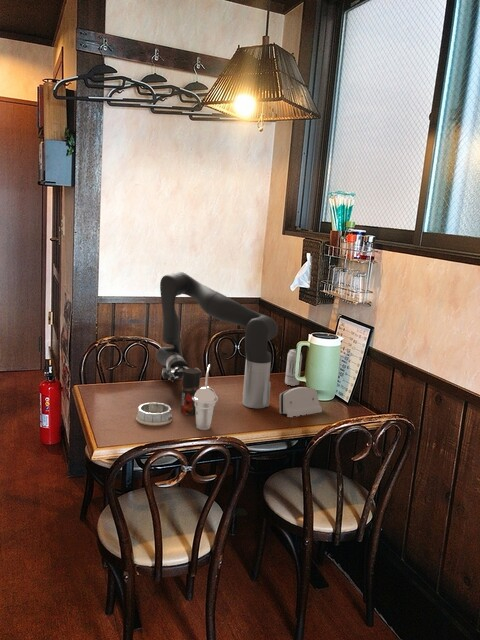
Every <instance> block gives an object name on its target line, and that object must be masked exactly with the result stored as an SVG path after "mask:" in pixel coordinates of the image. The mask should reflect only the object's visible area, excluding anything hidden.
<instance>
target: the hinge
mask: <svg viewBox="0 0 480 640" xmlns="http://www.w3.org/2000/svg"><path fill="white" fill-rule="evenodd" d="M278 398H279V399H278V400H279V401H278V402H279V403H278V405H279V411H278V412H279V414H284V415H286V417H290V418H294V417H293V416H296V417H300V415H302V416H307V415H313V414H318V413H323V408H322V406H321V404H320V401H319V395H318V392H317V390H316V389H314V388H311V387H305V386H297V387H291V388H289V389H286V390H285V391H283V392H281V393H279V397H278ZM306 414H307V415H306Z"/></svg>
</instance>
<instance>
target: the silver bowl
mask: <svg viewBox="0 0 480 640" xmlns="http://www.w3.org/2000/svg"><path fill="white" fill-rule="evenodd" d="M135 420H136V422H137V423H139V424H141V425H144V426H149V427H161V426H166V425H168V424H171V422H172V421H173V415H172V408H171V406H170V405H168V404H167V403H164V402H163V403H162V402H155V401H154V402H146V403H141V404H139V406H137V414H136V415H135Z"/></svg>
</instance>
